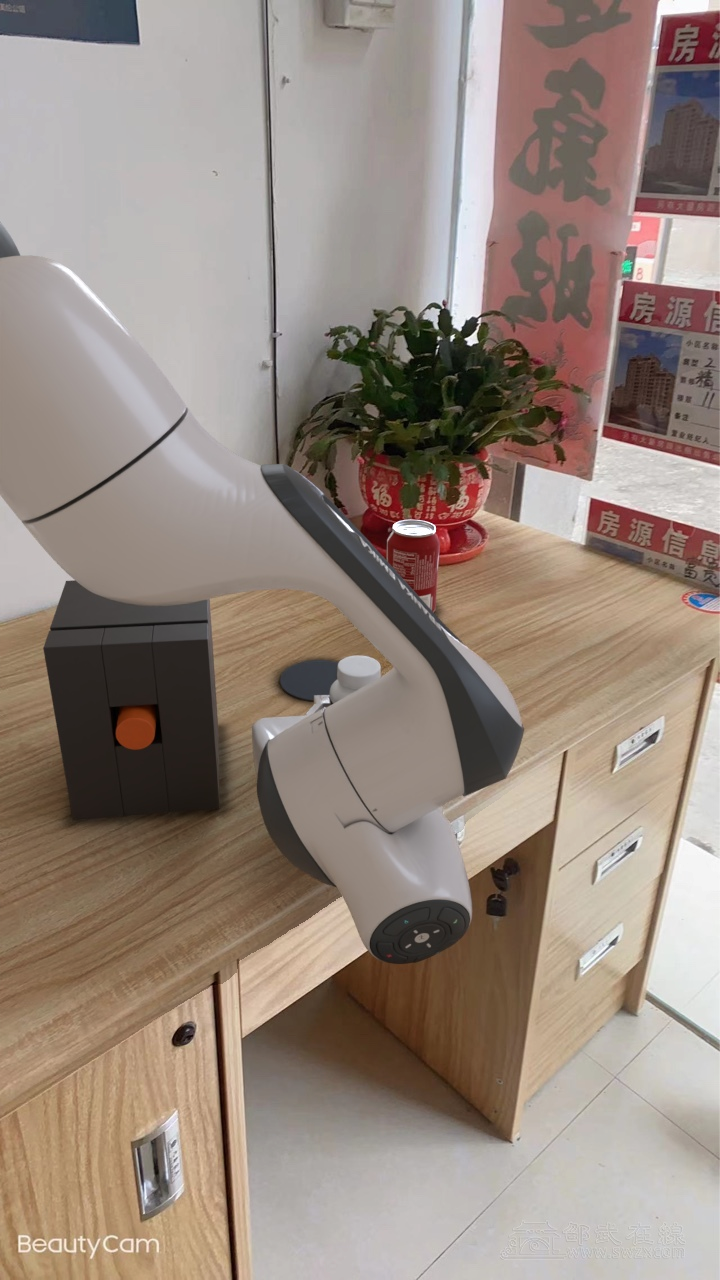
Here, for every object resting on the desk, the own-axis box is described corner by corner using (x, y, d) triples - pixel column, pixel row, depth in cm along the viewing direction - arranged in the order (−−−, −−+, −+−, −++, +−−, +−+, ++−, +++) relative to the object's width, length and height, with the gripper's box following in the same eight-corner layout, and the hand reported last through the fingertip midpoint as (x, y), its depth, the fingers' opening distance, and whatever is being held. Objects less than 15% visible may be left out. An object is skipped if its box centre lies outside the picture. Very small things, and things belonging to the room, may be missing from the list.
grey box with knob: (73, 823, 79) (42, 647, 70) (90, 740, 90) (65, 580, 82) (219, 812, 81) (207, 639, 72) (218, 732, 92) (208, 574, 83)
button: (117, 751, 75) (113, 719, 73) (121, 728, 77) (117, 697, 76) (156, 748, 75) (152, 717, 73) (158, 726, 78) (155, 695, 76)
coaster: (282, 707, 96) (282, 702, 96) (277, 666, 104) (277, 662, 104) (364, 702, 98) (364, 697, 97) (352, 662, 106) (352, 657, 105)
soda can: (437, 623, 115) (443, 537, 109) (385, 622, 115) (388, 536, 109) (433, 601, 121) (438, 518, 115) (383, 600, 121) (386, 517, 115)
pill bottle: (341, 731, 89) (343, 646, 84) (391, 744, 87) (396, 657, 82) (319, 760, 84) (320, 672, 80) (372, 774, 82) (376, 685, 78)
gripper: (508, 749, 72) (465, 664, 84) (255, 765, 69) (248, 676, 81) (500, 810, 75) (459, 720, 87) (257, 829, 72) (250, 733, 84)
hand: (356, 699), depth 84 cm, fingers closed on pill bottle, 5 cm apart
